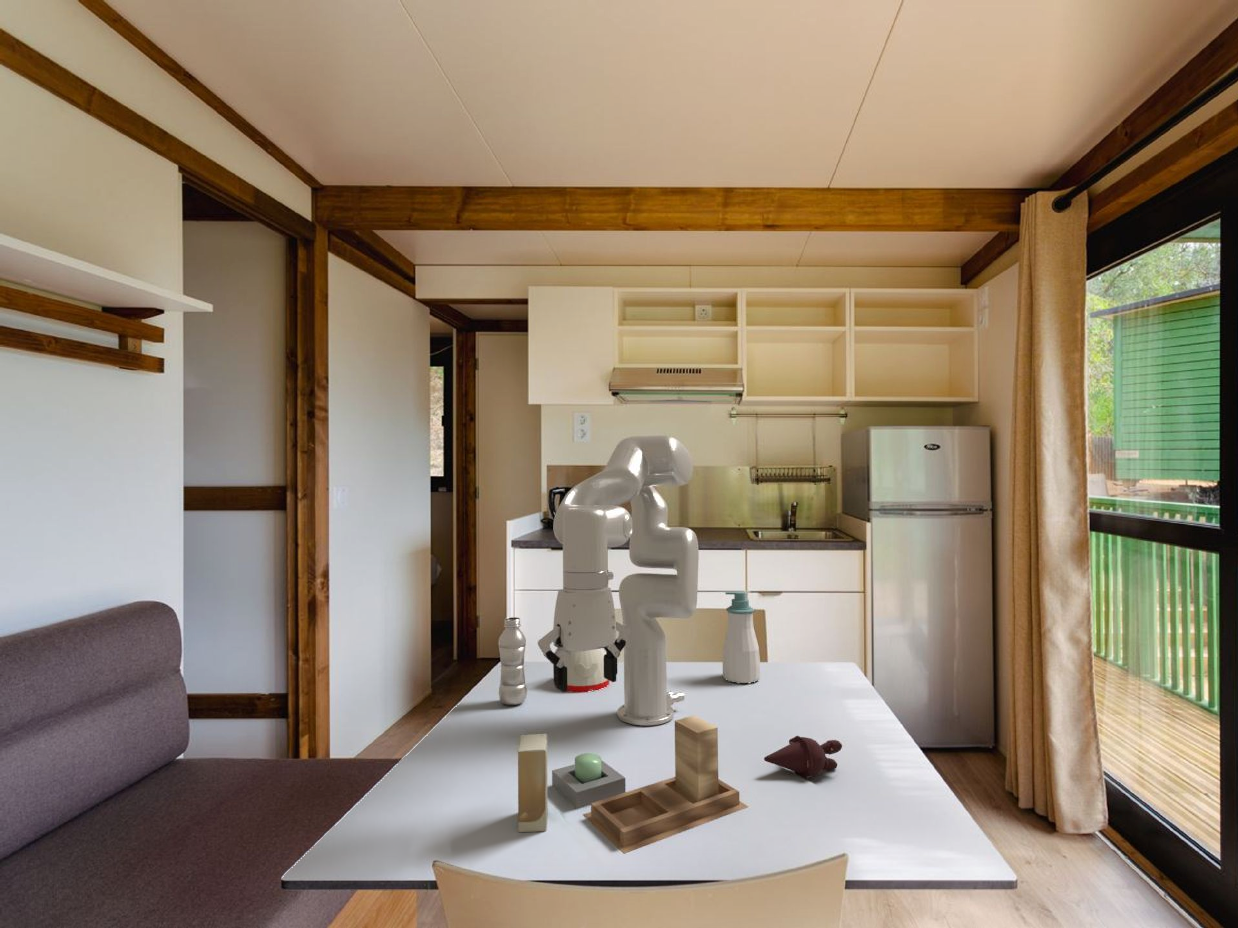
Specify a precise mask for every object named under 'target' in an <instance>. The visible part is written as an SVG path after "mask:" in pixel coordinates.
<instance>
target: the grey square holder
mask: <svg viewBox="0 0 1238 928" xmlns="http://www.w3.org/2000/svg"><path fill="white" fill-rule="evenodd" d="M551 786H552V787H553V788H554V789H555V790H556V791H557V792H558V793H559V794H560V795H561V796H562V797H563V798H564V799H565V800H567V801H568V802H569V804H571V805H572V806H573V807H574V809H576V810H578V809H582V808H584V807H588V806H591V803H594V802H597V801H600V800H603V799H606V798H610V797H613V796H616V795H619V794H622V793H625V792H627V791H626V777H625V776H623V775H622V774H621V773H620V772H618V771H617V770H615V769H614V768H613V767H611V766H610V765H609V764H608V763H606V762H605V761H604V760H602V759H601V779H597V780H594V781H591V782H587V783H584V784H581V783H580V782H579V781H578V780H577V779H576V778H575V763H574V764H571V765H567V766H564V767H560V768H555V769H553V770H551Z"/></svg>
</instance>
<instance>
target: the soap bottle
mask: <svg viewBox="0 0 1238 928" xmlns="http://www.w3.org/2000/svg"><path fill="white" fill-rule="evenodd" d="M724 593H725V595H734V598H733V599H731V605H729V606H728V607H727V608H726V611H727V619H728V620H727V628H726V632H725V638H724V642H723V648H722V677H723V678H724V679H725V680H726V679H727V680H729V681H728V682H730V681H734V682H738V683H737V684H740V683H748V684H750V683H749V682H754V681H757V680H758V681H759V680H760V678H761V658H760V648H759V643H758V639H757V636H756V631H755V629H754V620H753V619H754V617H753V616H754V612H755V608H754V607H751V606H750V605H749V603H750V601H749V599H747V596H746V595H747V594H746V591H725V592H724ZM727 680H726V681H727ZM758 681H757V682H758ZM754 683H755V682H754Z"/></svg>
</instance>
